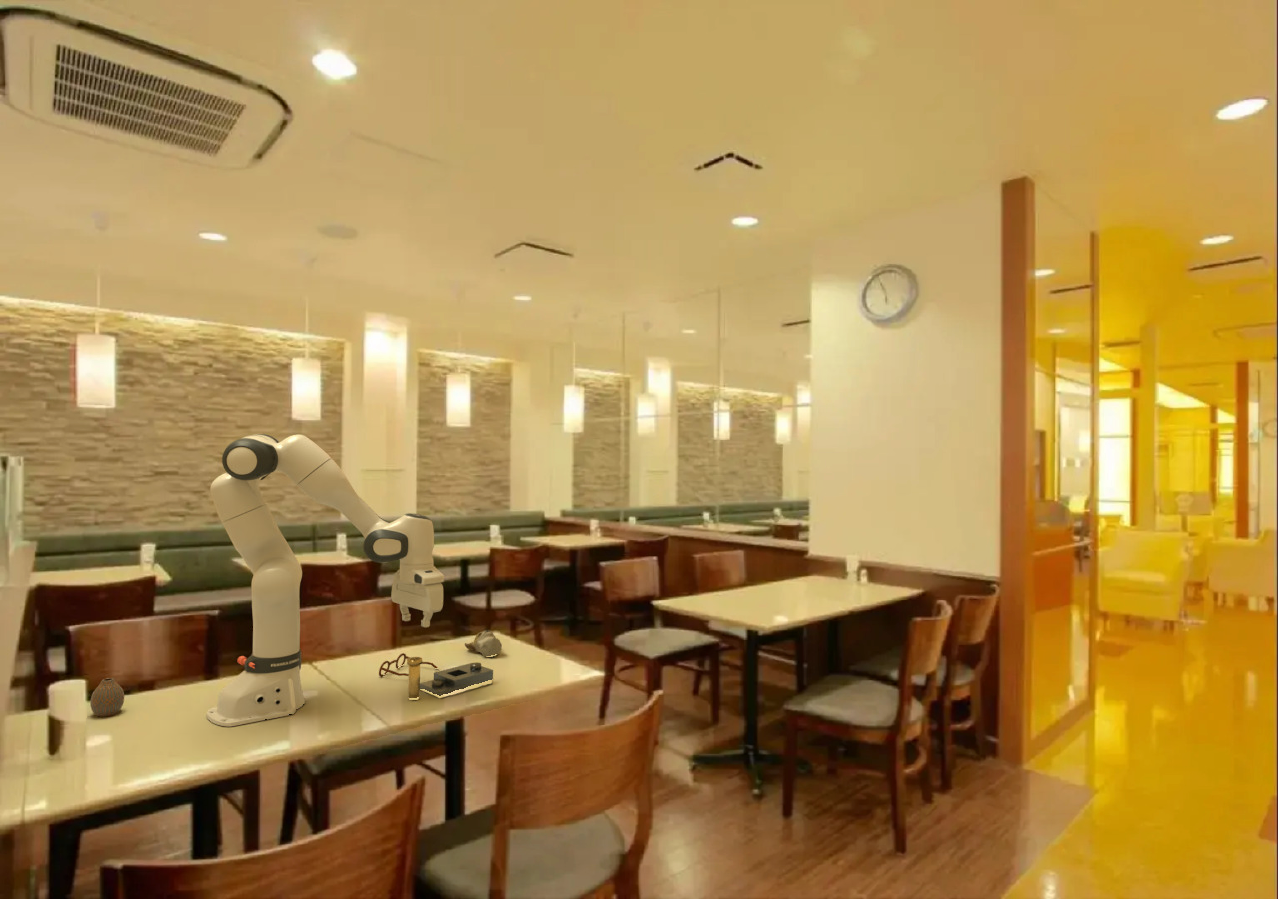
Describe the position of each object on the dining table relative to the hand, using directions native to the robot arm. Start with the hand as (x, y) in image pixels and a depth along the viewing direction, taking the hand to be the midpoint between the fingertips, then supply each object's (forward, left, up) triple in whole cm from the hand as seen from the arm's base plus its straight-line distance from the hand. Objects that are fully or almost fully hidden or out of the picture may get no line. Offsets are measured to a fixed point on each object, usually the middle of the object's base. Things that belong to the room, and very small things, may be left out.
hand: (415, 623), depth 197 cm
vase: (-59, +45, -21) cm, 77 cm away
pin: (0, 0, -21) cm, 21 cm away
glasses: (+11, +20, -21) cm, 31 cm away
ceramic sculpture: (+40, +21, -21) cm, 50 cm away
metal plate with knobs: (+14, 0, -21) cm, 25 cm away
